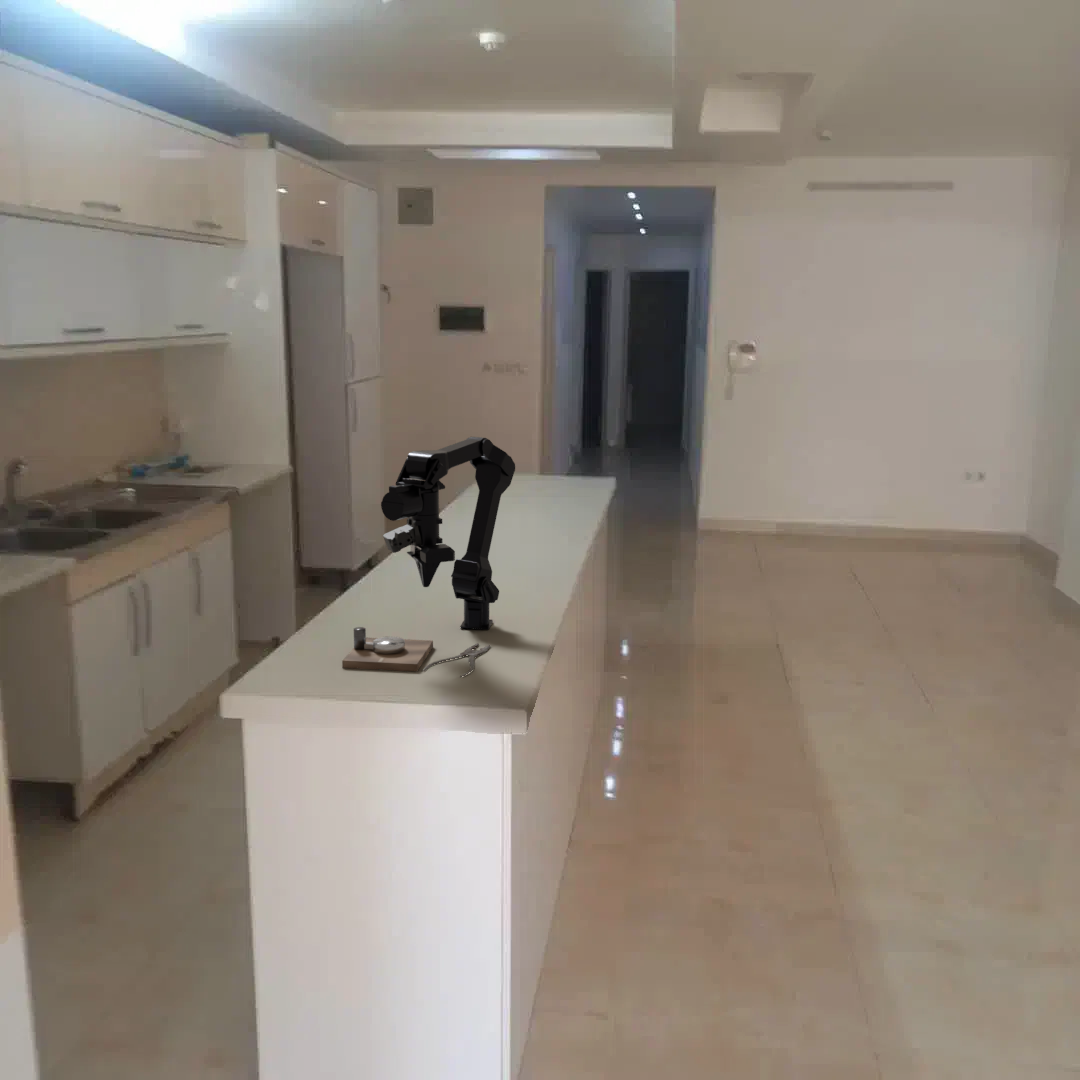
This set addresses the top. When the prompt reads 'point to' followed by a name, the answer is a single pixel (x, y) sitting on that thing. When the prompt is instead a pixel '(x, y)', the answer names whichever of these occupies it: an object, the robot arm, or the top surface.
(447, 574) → the top surface
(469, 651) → the pliers
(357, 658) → the dial plate
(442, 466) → the robot arm
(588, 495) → the top surface
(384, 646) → the crank handle
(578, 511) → the top surface
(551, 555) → the top surface
